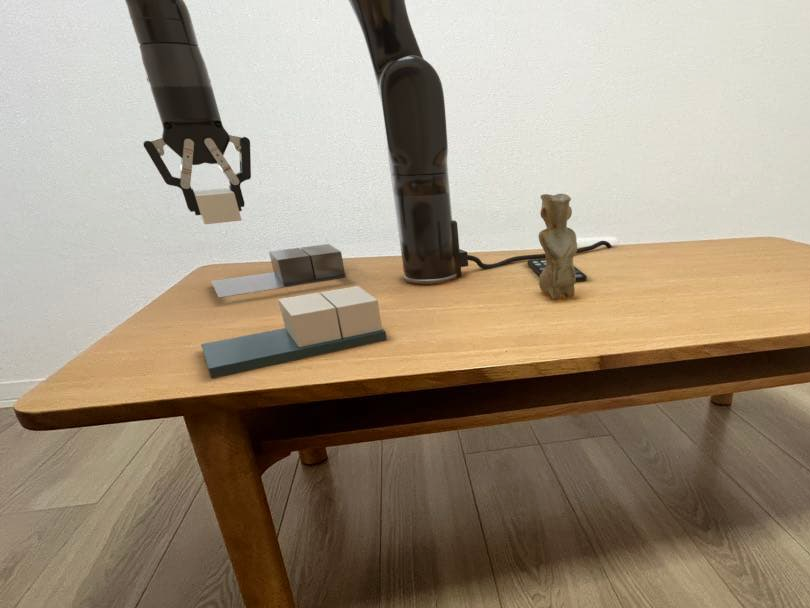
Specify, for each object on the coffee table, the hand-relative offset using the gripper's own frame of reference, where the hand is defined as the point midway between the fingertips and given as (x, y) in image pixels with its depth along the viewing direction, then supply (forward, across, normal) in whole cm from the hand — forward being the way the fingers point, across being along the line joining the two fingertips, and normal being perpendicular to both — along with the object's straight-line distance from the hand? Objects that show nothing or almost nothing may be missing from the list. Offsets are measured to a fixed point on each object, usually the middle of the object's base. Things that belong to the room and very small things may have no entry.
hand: (218, 212), depth 83 cm
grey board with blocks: (+13, +6, +1) cm, 14 cm away
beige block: (+1, 0, 0) cm, 1 cm away
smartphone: (+13, +49, -20) cm, 55 cm away
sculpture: (+14, +41, -32) cm, 54 cm away
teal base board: (+13, +2, -31) cm, 33 cm away
